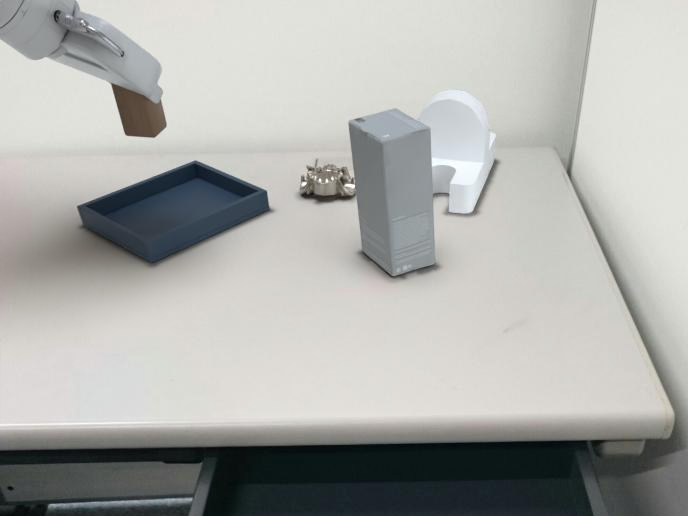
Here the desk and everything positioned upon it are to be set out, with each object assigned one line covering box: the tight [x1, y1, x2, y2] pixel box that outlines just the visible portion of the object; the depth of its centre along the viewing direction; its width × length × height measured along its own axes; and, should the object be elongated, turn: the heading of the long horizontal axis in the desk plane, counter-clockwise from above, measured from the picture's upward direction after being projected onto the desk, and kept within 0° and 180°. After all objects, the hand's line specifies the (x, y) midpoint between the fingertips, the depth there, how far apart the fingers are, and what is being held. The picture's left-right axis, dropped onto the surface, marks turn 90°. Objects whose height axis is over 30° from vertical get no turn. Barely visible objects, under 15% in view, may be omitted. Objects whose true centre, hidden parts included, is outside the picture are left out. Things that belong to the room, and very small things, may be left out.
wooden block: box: [110, 83, 168, 139], centre depth 85 cm, size 4×4×8 cm
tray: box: [76, 159, 271, 264], centre depth 98 cm, size 16×20×3 cm
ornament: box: [298, 163, 356, 197], centre depth 102 cm, size 8×7×4 cm
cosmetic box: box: [348, 107, 436, 277], centre depth 85 cm, size 8×7×16 cm
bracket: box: [416, 89, 497, 215], centre depth 102 cm, size 19×10×11 cm, turn 166°
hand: (140, 90), depth 85 cm, fingers closed on wooden block, 5 cm apart
